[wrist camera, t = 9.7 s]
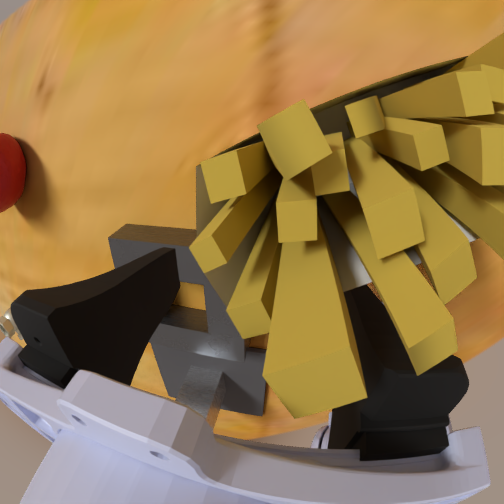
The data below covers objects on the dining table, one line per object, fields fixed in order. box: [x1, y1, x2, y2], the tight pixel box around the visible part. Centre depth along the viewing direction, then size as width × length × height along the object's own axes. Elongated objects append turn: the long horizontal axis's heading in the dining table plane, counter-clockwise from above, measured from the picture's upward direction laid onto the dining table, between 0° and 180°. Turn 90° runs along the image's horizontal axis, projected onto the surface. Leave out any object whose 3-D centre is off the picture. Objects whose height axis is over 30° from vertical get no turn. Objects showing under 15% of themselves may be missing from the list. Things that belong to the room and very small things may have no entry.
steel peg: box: [175, 366, 226, 430], centre depth 29 cm, size 4×4×8 cm
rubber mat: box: [151, 343, 267, 416], centre depth 33 cm, size 14×14×1 cm
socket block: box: [108, 224, 250, 362], centre depth 25 cm, size 12×12×3 cm
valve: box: [0, 308, 23, 340], centre depth 37 cm, size 7×7×12 cm
